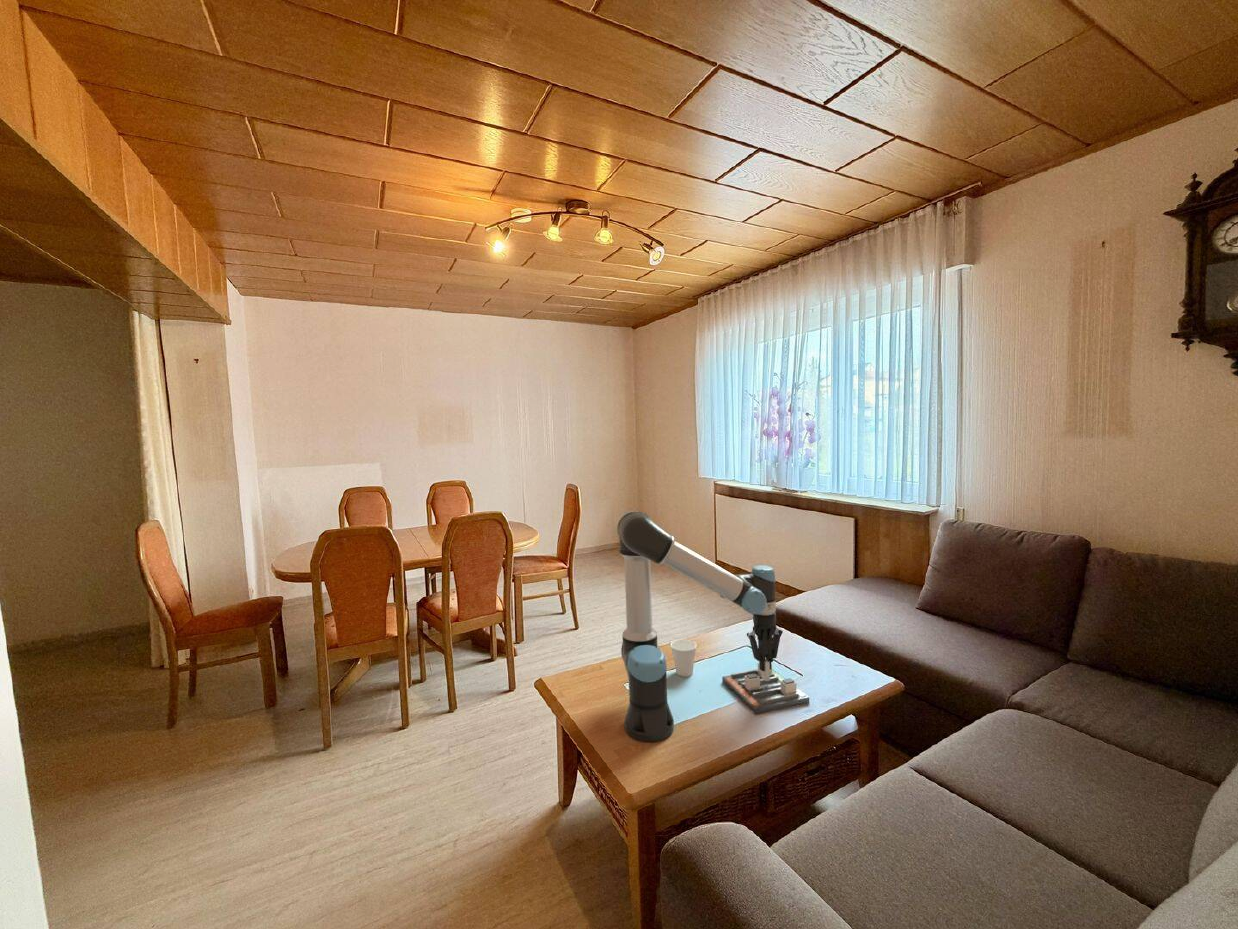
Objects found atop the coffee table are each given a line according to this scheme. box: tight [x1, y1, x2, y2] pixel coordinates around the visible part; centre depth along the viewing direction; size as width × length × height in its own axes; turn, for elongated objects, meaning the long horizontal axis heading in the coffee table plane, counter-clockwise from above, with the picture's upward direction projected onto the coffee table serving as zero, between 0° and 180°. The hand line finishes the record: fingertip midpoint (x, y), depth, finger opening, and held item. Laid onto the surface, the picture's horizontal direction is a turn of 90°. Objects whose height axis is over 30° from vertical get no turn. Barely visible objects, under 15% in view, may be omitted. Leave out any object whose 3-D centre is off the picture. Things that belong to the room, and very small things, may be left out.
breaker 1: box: [745, 674, 760, 690], centre depth 166 cm, size 4×3×4 cm
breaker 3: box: [781, 677, 798, 695], centre depth 162 cm, size 4×3×4 cm
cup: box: [670, 639, 698, 678], centre depth 183 cm, size 10×10×11 cm
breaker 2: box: [757, 662, 773, 676], centre depth 175 cm, size 4×3×4 cm
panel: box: [721, 668, 810, 716], centre depth 167 cm, size 20×22×3 cm
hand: (765, 679), depth 167 cm, fingers closed
